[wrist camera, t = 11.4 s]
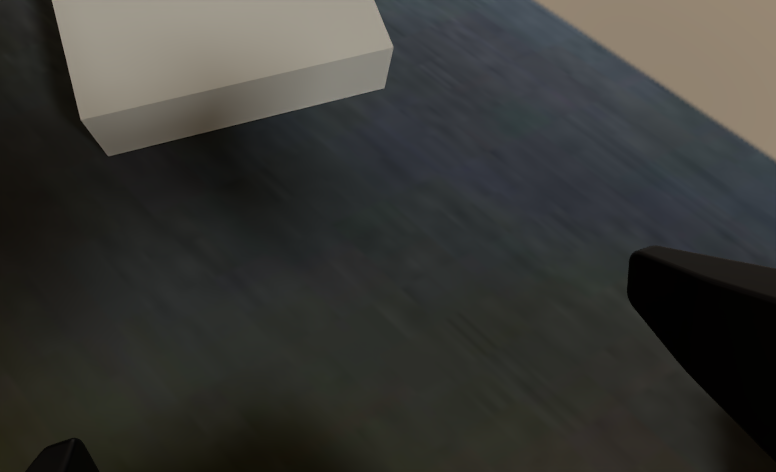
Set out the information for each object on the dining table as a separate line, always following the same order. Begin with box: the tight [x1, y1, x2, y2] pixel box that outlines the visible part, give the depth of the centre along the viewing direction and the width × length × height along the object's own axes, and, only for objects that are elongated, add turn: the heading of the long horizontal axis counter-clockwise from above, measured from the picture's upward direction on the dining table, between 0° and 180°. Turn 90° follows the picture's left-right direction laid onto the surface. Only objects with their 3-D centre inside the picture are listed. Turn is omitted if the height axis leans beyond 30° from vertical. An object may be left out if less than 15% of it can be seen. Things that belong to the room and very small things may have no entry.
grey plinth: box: [52, 0, 393, 156], centre depth 24 cm, size 6×12×3 cm, turn 110°
